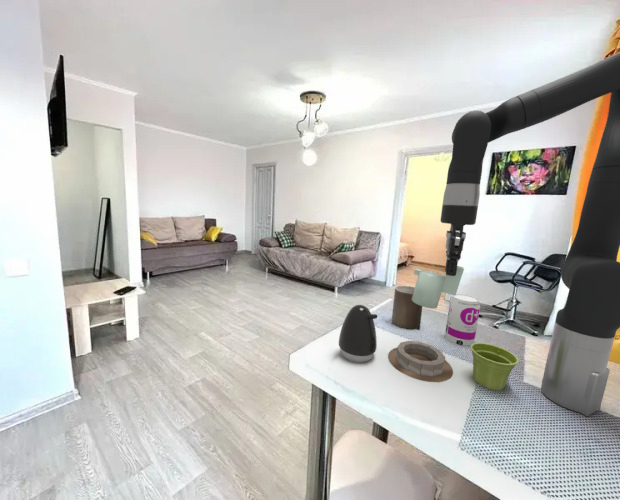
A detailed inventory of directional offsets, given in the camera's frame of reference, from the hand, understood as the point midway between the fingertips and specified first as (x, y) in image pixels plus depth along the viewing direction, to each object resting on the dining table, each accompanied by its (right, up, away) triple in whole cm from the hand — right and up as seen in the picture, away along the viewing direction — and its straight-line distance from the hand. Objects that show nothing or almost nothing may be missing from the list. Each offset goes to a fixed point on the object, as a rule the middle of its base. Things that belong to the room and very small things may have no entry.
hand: (450, 273), depth 67 cm
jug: (-5, -8, +3) cm, 10 cm away
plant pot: (+8, -27, -2) cm, 28 cm away
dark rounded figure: (-22, -24, +7) cm, 33 cm away
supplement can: (+12, -24, +19) cm, 33 cm away
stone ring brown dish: (-6, -25, +4) cm, 26 cm away
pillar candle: (-1, -22, +28) cm, 36 cm away
